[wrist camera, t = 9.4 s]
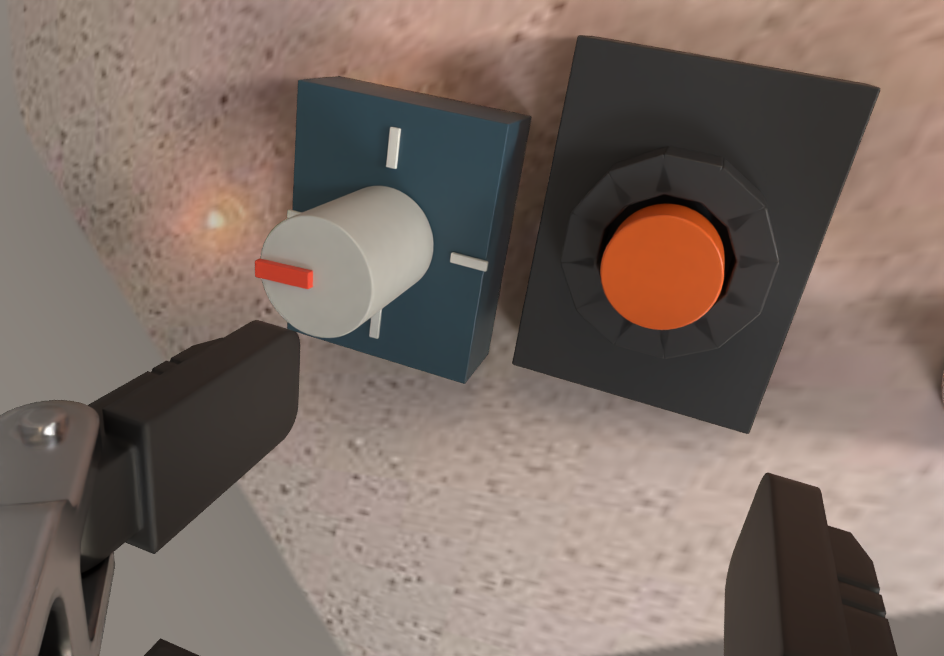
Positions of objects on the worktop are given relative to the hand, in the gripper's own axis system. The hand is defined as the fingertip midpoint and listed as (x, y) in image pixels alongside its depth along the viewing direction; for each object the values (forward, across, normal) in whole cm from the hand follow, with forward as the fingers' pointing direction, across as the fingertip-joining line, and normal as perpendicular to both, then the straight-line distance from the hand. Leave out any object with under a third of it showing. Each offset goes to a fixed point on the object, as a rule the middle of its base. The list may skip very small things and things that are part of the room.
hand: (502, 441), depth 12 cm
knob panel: (+16, +8, +2) cm, 18 cm away
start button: (+13, -2, 0) cm, 13 cm away
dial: (+13, +8, +2) cm, 16 cm away
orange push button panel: (+16, -2, 0) cm, 16 cm away
